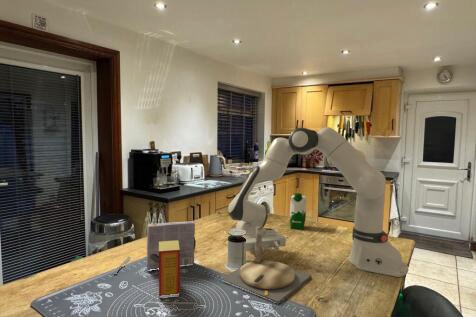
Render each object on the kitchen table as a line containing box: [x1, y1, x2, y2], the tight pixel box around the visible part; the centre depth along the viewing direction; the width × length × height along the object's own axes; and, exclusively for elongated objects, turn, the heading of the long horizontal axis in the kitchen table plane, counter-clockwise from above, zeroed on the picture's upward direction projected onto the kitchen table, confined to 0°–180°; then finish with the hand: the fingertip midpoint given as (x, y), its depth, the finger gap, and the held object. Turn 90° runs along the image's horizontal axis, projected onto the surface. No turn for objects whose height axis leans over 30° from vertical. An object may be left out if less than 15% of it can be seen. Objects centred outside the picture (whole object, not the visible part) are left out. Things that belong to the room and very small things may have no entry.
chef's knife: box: [118, 256, 132, 268], centre depth 125 cm, size 19×1×3 cm
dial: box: [240, 226, 295, 289], centre depth 113 cm, size 20×20×16 cm
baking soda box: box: [158, 240, 181, 296], centre depth 104 cm, size 10×6×16 cm
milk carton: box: [289, 192, 307, 231], centre depth 177 cm, size 9×9×20 cm
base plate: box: [220, 258, 312, 303], centre depth 114 cm, size 24×24×1 cm
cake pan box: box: [146, 220, 197, 271], centre depth 123 cm, size 19×5×18 cm, turn 111°
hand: (270, 248), depth 122 cm, fingers open, 5 cm apart
